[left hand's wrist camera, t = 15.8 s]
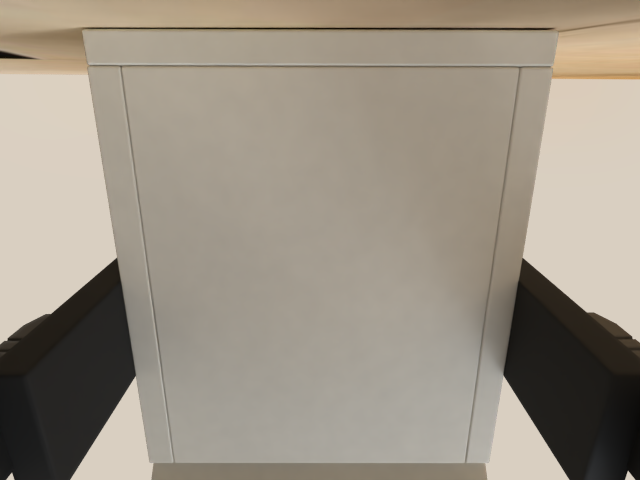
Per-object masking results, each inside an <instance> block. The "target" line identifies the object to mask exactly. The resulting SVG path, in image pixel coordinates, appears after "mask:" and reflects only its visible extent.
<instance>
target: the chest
mask: <svg viewBox="0 0 640 480" xmlns="http://www.w3.org/2000/svg"><path fill="white" fill-rule="evenodd" d="M82 35H83V41H84V48H85V54H86V60H87V64H88V65H90V66H88V68H87V69H88V75H89V82H90V88H91V94H92V101H93V107H94V113H95V120H96V126H97V132H98V139H99V145H100V151H101V158H102V164H103V170H104V177H105V183H106V189H107V196H108V202H109V208H110V215H111V221H112V227H113V234H114V240H115V246H116V253H117V259H118V265H119V272H120V278H121V284H122V291H123V297H124V303H125V310H126V316H127V322H128V329H129V335H130V341H131V347H132V354H133V360H134V366H135V372H136V379H137V386H138V392H139V398H140V405H141V411H142V417H143V424H144V430H145V436H146V443H147V449H148V455H149V462H150V463H173V462H175V463H464V462H466V463H489V460H490V454H491V448H492V442H493V435H494V430H495V423H496V417H497V411H498V405H499V399H500V393H501V387H502V380H503V374H504V368H505V362H506V355H507V349H508V343H509V337H510V330H511V324H512V318H513V312H514V306H515V299H516V293H517V287H518V281H519V276H520V270H521V264H522V257H523V251H524V245H525V239H526V233H527V227H528V220H529V214H530V208H531V202H532V196H533V190H534V183H535V177H536V171H537V165H538V159H539V153H540V147H541V141H542V134H543V128H544V122H545V116H546V110H547V103H548V97H549V91H550V85H551V79H552V73H553V68H551V66H553V64H554V59H555V53H556V47H557V41H558V35H559V32H558V31H557V30H374V29H83V30H82Z"/></svg>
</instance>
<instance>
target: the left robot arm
mask: <svg viewBox="0 0 640 480" xmlns="http://www.w3.org/2000/svg"><path fill="white" fill-rule="evenodd" d="M503 375H504V377H505V378H506V380H507V382H508V383H509V385H510V386H511V388H512V389H513V391H514V393H515V394H516V396H517V397H518V399H519V401H520V402H521V404H522V405H523V407H524V408H525V410H526V412H527V413H528V415H529V416H530V418H531V420H532V421H533V423H534V424H535V426H536V427H537V429H538V430H539V432H540V434H541V435H542V437H543V438H544V440H545V442H546V443H547V445H548V446H549V448H550V450H551V451H552V453H553V454H554V456H555V458H556V459H557V461H558V462H559V464H560V465H561V467H562V469H563V470H564V472H565V473H566V475H567V477H568V478H569V480H625V478H626V474H627V472H628V471H629V472H630V473H631V475H632V476H633V477H634V478H635V480H640V343H639V342H638V341H637V340H636V339H632V336H631V335H629V334H628V333H627V332H626V331H624V330H623V329H622V328H621V327H619V326H618V325H617V324H616V323H614V322H612V321H610V320H608V319H606V318H604V317H602V316H600V315H598V314H596V313H587V312H585V311H584V310H583V309H582V308H581V307H580V306H578V305H577V304H576V303H575V302H574V301H573V300H571V299H570V298H569V297H568V296H567V295H566V294H564V293H563V292H562V291H561V290H560V289H558V288H557V287H556V286H555V285H554V284H553V283H551V282H550V281H549V280H548V279H547V278H546V277H544V276H543V275H542V274H541V273H540V272H539V271H537V270H536V269H535V268H534V267H533V266H532V265H530V264H529V263H528V262H527V261H526V260H525V259H523V258H522V264H521V270H520V276H519V281H518V287H517V293H516V299H515V306H514V312H513V318H512V324H511V330H510V337H509V343H508V349H507V355H506V362H505V368H504V374H503ZM135 376H136V372H135V366H134V360H133V354H132V347H131V341H130V335H129V329H128V322H127V316H126V310H125V303H124V297H123V291H122V284H121V278H120V272H119V265H118V259H117V258H116V259H115V260H114V261H113V262H112V263H110V264H109V265H108V266H107V267H106V268H105V269H103V270H102V271H101V272H100V273H99V274H97V275H96V276H95V277H94V278H93V279H92V280H90V281H89V282H88V283H87V284H86V285H85V286H83V287H82V288H81V289H80V290H79V291H78V292H76V293H75V294H74V295H73V296H72V297H71V298H69V299H68V300H67V301H66V302H65V303H63V304H62V305H61V306H60V307H59V308H58V309H56V310H55V311H54V312H53V313H52V314H45V315H43V316H41V317H39V318H37V319H35V320H33V321H31V322H29V323H27V324H25V325H24V326H22V327H21V328H20V329H19V330H18V331H16V332H15V333H14V334H13V335H11V336H10V337H9V338H8V340H7V341H4V342H3V343H2V344H0V480H6V479H7V478H8V476H9V475H10V474H11V473H13V476H14V479H15V480H70V479H71V477H72V476H73V474H74V473H75V471H76V469H77V468H78V466H79V465H80V463H81V462H82V460H83V458H84V457H85V455H86V454H87V452H88V450H89V449H90V447H91V446H92V444H93V443H94V441H95V439H96V438H97V436H98V435H99V433H100V432H101V430H102V428H103V427H104V425H105V424H106V422H107V420H108V419H109V417H110V416H111V414H112V413H113V411H114V409H115V408H116V406H117V405H118V403H119V401H120V400H121V398H122V397H123V395H124V394H125V392H126V390H127V389H128V387H129V386H130V384H131V382H132V381H133V379H134V378H135Z"/></svg>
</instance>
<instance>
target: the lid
mask: <svg viewBox="0 0 640 480" xmlns="http://www.w3.org/2000/svg"><path fill="white" fill-rule="evenodd" d="M152 480H487V474H486V466H485V463H466V462H464V463H175V462H173V463H154V464H153V472H152Z"/></svg>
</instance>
